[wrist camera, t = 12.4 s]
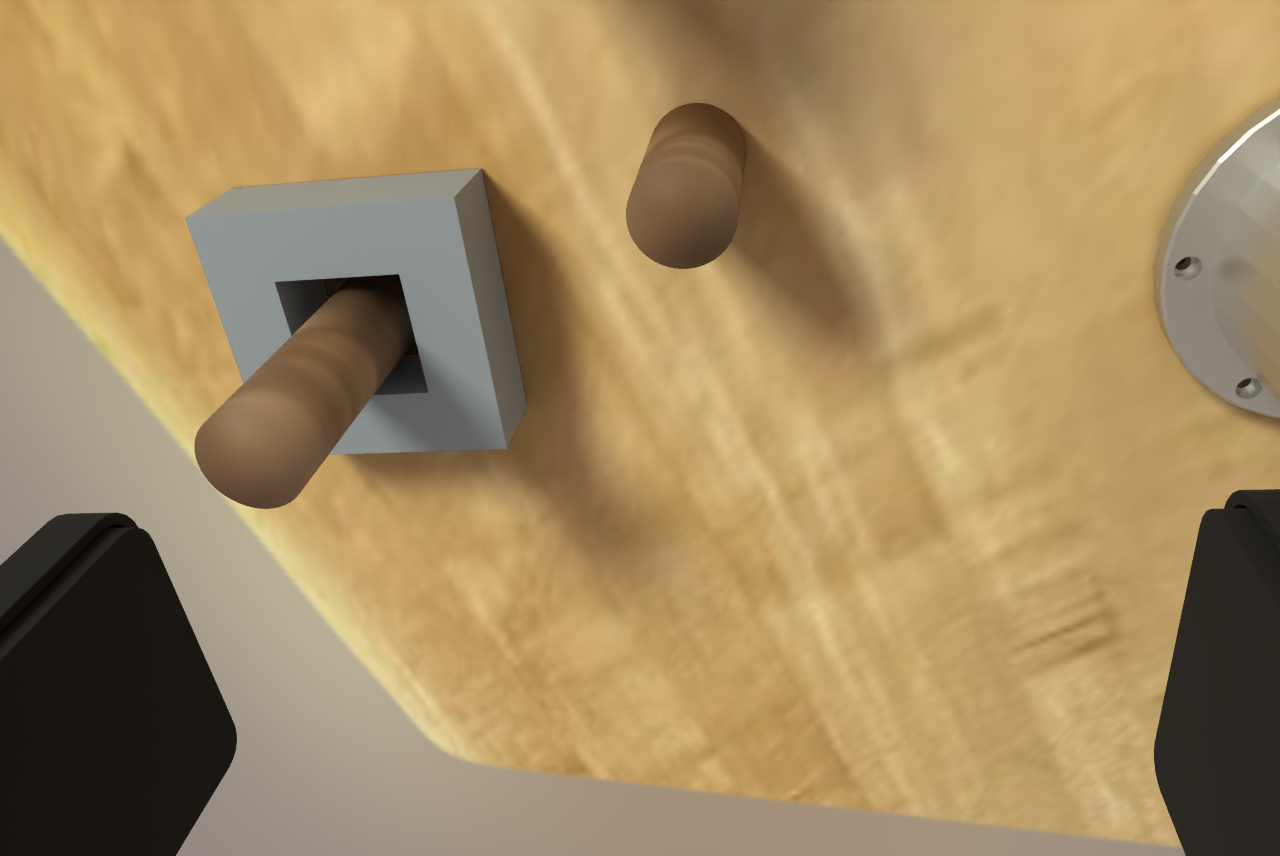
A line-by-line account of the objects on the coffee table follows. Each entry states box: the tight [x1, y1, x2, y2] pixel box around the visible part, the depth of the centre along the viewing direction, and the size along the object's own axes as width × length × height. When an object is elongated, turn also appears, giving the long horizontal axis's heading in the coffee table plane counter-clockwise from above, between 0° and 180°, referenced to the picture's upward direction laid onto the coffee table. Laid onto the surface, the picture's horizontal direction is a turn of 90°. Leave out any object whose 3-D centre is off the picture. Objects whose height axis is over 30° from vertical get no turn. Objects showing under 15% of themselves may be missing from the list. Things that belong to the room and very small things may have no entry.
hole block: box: [185, 168, 527, 455], centre depth 38 cm, size 10×10×4 cm
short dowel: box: [626, 103, 746, 269], centre depth 32 cm, size 3×3×6 cm
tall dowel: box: [195, 274, 415, 509], centre depth 34 cm, size 3×3×12 cm
